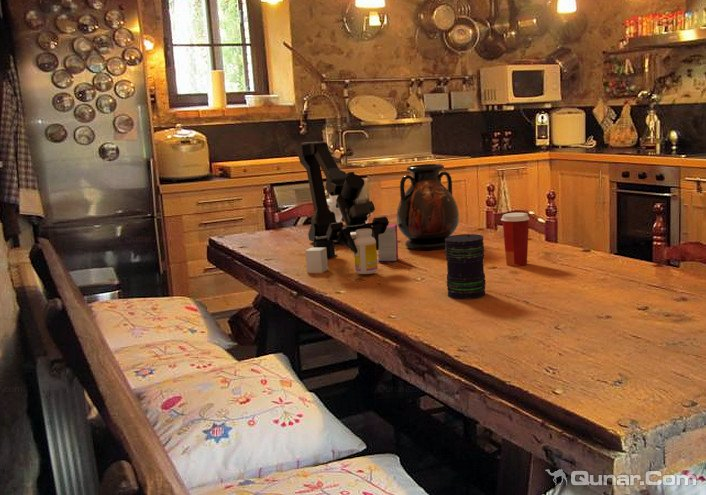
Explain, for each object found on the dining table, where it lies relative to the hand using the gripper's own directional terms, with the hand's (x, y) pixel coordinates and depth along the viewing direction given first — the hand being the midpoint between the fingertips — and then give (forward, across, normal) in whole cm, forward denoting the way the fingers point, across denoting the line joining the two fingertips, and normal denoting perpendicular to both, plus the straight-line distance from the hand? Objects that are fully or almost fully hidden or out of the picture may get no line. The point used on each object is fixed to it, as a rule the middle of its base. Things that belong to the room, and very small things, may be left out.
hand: (367, 251), depth 224 cm
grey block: (-6, -10, +17) cm, 21 cm away
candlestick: (-38, +17, +50) cm, 65 cm away
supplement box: (-5, +14, +16) cm, 22 cm away
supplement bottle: (+4, 0, +6) cm, 7 cm away
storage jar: (+32, +10, -22) cm, 40 cm away
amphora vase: (-14, +36, +25) cm, 46 cm away
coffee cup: (+16, +41, -6) cm, 45 cm away
